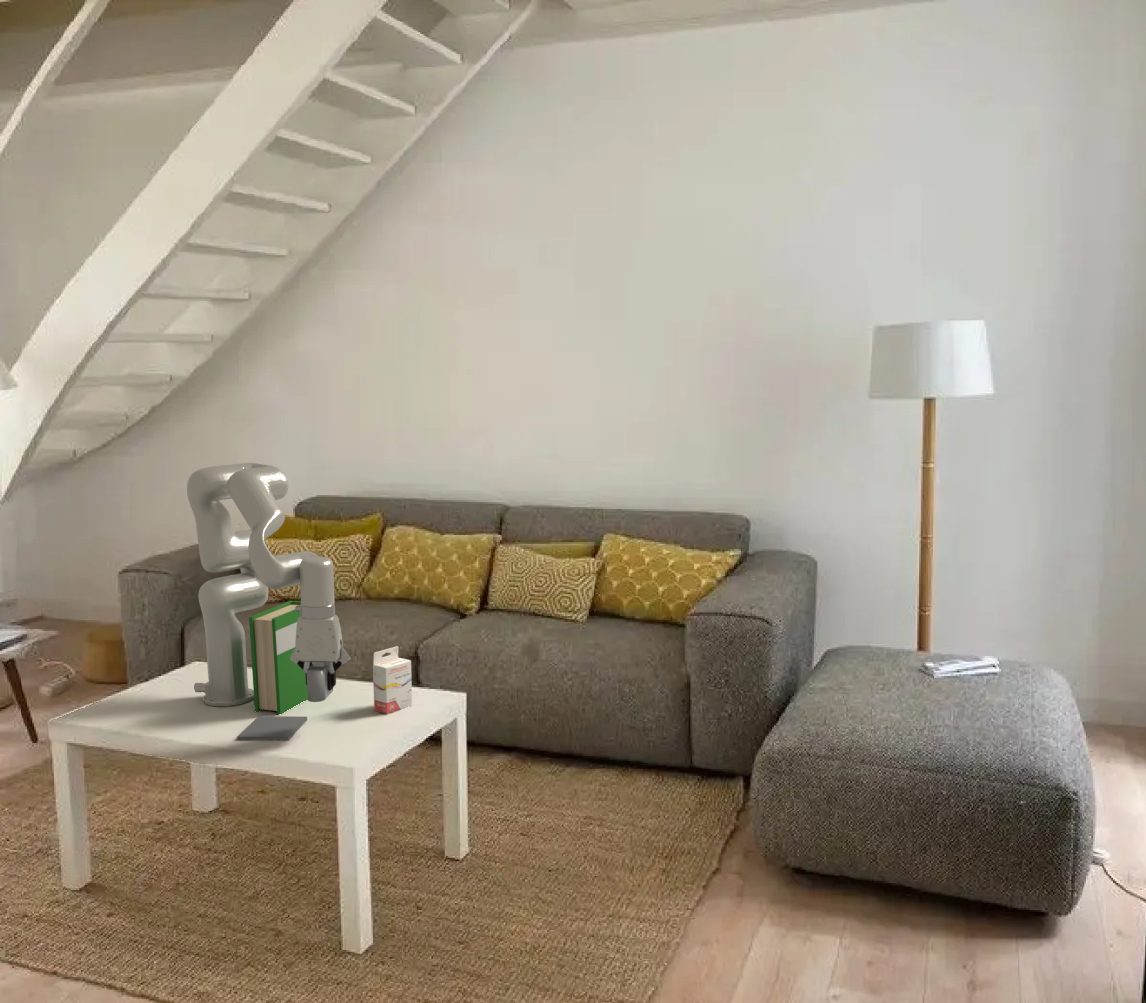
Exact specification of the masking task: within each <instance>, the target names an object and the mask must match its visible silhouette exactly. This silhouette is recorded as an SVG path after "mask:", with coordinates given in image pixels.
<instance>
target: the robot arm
mask: <svg viewBox="0 0 1146 1003" xmlns="http://www.w3.org/2000/svg"><path fill="white" fill-rule="evenodd" d="M287 478H288V477H287V476H286V474H285V473H284V472H283V470H281V469H280V468H279V467H277V466H274V465H270V464H262V463H254V462H244V463H234V464H233V463H232V464H225V465H223V464H222V465H214V466H207V467H203V468H200V469H197V470H195V471H193V472H192V474H190V476H189V477H188V480H187V483H186V496H187V499H188V503H189V506H190V509H191V511H192V514H193V516H194V521H195V528H196V529H195V530H196V535H197V545H198V550H199V551H198V552H199V559H200V563H201V566H202V568H203V569H204V570H205V571H206V572H208V573H222V572H226V571H227V572H229V571H232V570H239V569H240V573H237V574H230V575H226V576H221V577H215V578H212V579H209V580H206V582H204V583H203V584H202V585H201V586H200V588H199V590H198V595H197V596H198V602H199V607H200V610H201V614H202V618H203V625H204V626H203V627H204V633H205V634H204V636H205V646H206V647H205V648H206V663H207V664H206V665H207V676H208V678H207V679H208V681H207V682H206V683H205V682H195V683H194V684H193V685H194V686H193V689H194V692H195V693H204V696H203V703H204V704H205V705H207V706H212V707H231V706H238V705H242V704H245V703H249V702H250V701H252V700H254V690H253V689H252V688H249V683H248V682H249V680H248V679H249V678H248V664H247V651H246V649H247V648H246V633H245V632H246V631H245V629H244V626H243V625H242V623H241V622H240V621H239V620H238V618H237V616H236V614H237V613H240V612H245V611H249V610H253V609H258V608H260V607H262V606H264V605H265V604H266V603H267V601H268V598H269V589H271V590H280V589H285V588H290V587H295V586H300V587H299V588H300V589H299V590H300V601H301V605H299V606H296V607H295V611H296V612H300V614H301V616H300V617H299V618H298V621H297V628H296V642H295V650H294V652H293V653H292V655H291V657H290V660H291V661H293V662H295V663H297V664H298V666H300V667H301V668H302V669H303V671H304V673H305V674H306V685H307V669H308V668H309V667H310V666H311V665H312V664H313V662H327V664H328V669H329V673H328V674H327V680H328V690H332V688H333V689H334V687H336V685H337V673H336V672H337V670H338V669H339V668H340V667H341V666H343V665H345V664H346V663H348V662H349V661H350V659H351V656H350V655H349V653H348V652H347V651H346V649H345V648H344V644H343V643H344V642H343V635H342V634H343V633H342V628H341V624H340V618H339V617H338V615H337V614H336V606H335V605H336V604H335V602H336V601H335V578H334V576H335V574H334V563H333V561H332V558H329V557H325V556H319V555H318V554H317V553H314V552H313V551H309V550H303V551H297V552H290V553H286V554H281V555H273V554H272V553H271V551H270V549H269V548H268V546H267V544H266V541H265V540H266V539H267V538H269V537H270V536H272V535H273V534H274V533H276V532H277V531H279V529H280V528H281V527H282V526H283V524H284V523H285V520H286V516H285V512H284V511H283V509H282V508H281V506H280V503H279V502H278V500H281V499H283V498H285V497H286V495H287V494H288V491H289V481H288V479H287ZM231 499H232V500H233V502H234V504H235V505H236V507H237V508H238V510H239V512H240V514H241V515H242V517H243V519H244V520H245V522H246V523H247V525H248V527H249V529H250V530H249V529H243V530H236V531H234V530H233V526H232V525H233V524H232V516H231V514H230V512H229V510H228V509H227V507H225V505H224V504H223V503H222V502H221V501H225V500H231ZM340 657H341V658H340ZM339 658H340V659H339Z"/></svg>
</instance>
